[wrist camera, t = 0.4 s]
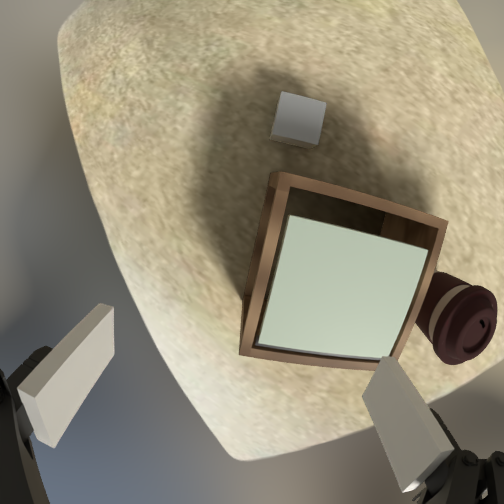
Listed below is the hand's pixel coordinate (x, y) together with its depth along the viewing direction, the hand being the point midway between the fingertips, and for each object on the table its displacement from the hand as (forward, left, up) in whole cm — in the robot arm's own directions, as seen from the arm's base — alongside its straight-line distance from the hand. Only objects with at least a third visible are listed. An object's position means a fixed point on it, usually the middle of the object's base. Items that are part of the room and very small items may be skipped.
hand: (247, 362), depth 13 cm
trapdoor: (+1, +9, -13) cm, 16 cm away
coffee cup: (+2, +26, -25) cm, 36 cm away
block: (-15, +2, -25) cm, 30 cm away
